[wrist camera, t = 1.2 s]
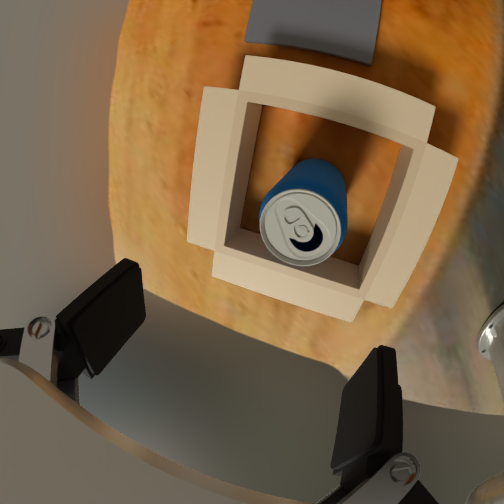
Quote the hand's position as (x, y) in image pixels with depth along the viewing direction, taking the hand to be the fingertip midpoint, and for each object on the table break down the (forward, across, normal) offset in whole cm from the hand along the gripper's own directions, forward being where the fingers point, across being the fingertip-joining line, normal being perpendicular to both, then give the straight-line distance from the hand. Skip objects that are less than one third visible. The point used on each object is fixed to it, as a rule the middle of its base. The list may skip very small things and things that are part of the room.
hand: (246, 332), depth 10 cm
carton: (+22, -1, 0) cm, 22 cm away
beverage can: (+22, -1, 0) cm, 22 cm away
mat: (+22, +3, -21) cm, 31 cm away
